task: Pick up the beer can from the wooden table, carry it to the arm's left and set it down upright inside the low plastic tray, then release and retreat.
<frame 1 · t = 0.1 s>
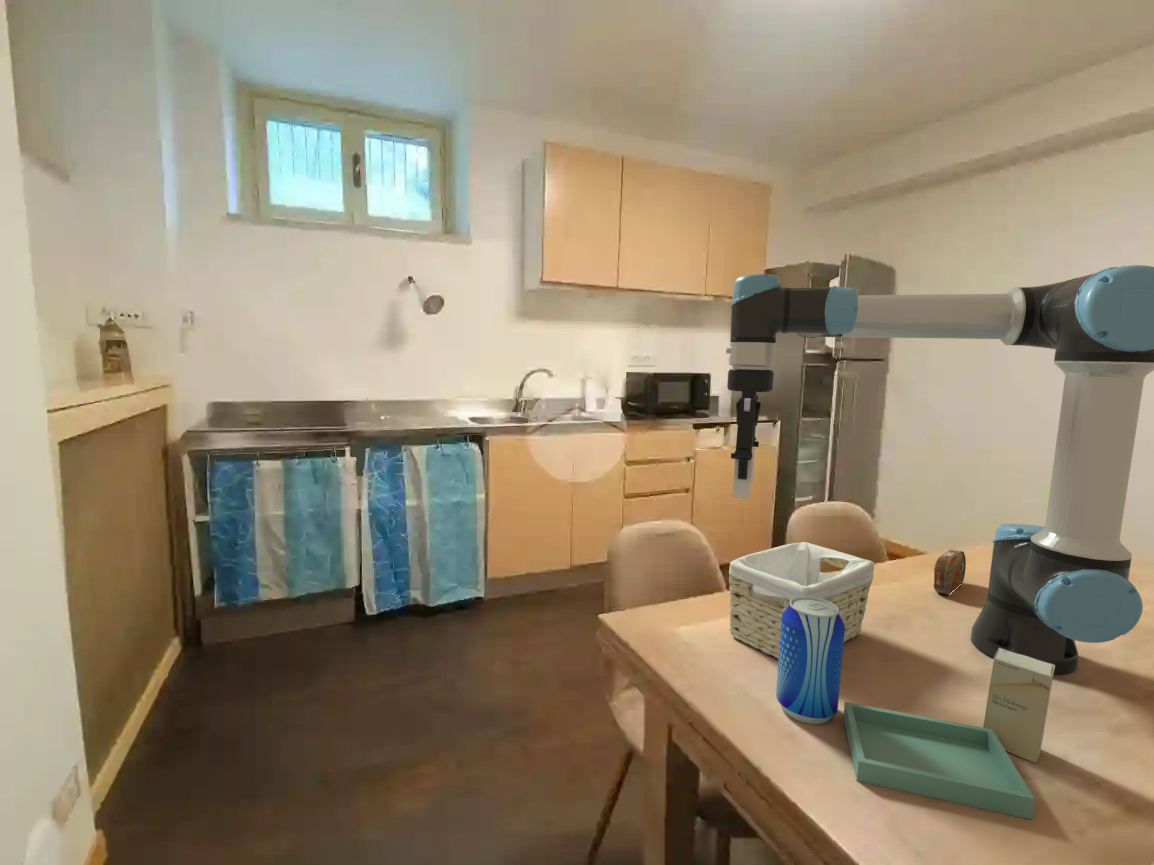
hand: (743, 489, 102), 28 cm above the table, fingers open, 13 cm apart
skincare box: (1011, 746, 78), on the table
tray: (926, 763, 74), on the table
beer can: (805, 710, 85), on the table
tin: (947, 590, 132), on the table
storage basket: (796, 637, 108), on the table
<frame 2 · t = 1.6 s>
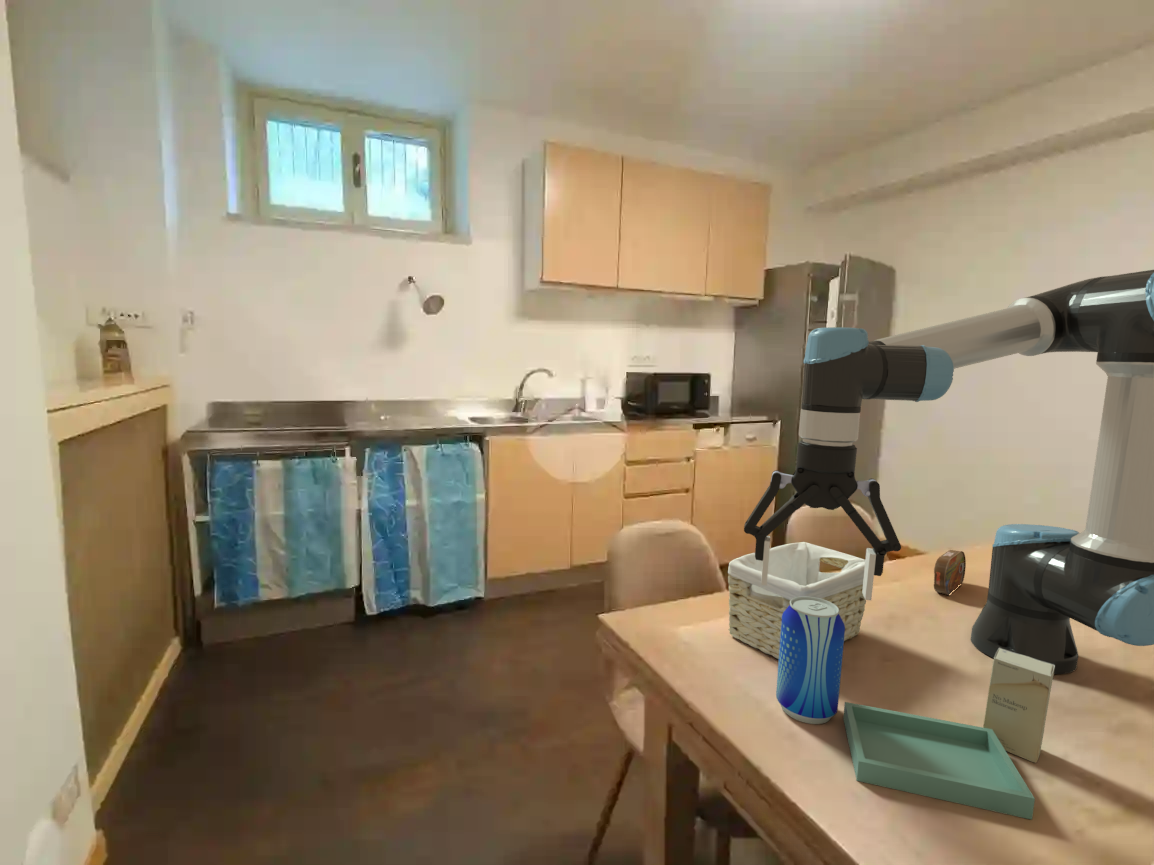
hand: (814, 589, 83), 18 cm above the table, fingers open, 13 cm apart
nothing on the table moved.
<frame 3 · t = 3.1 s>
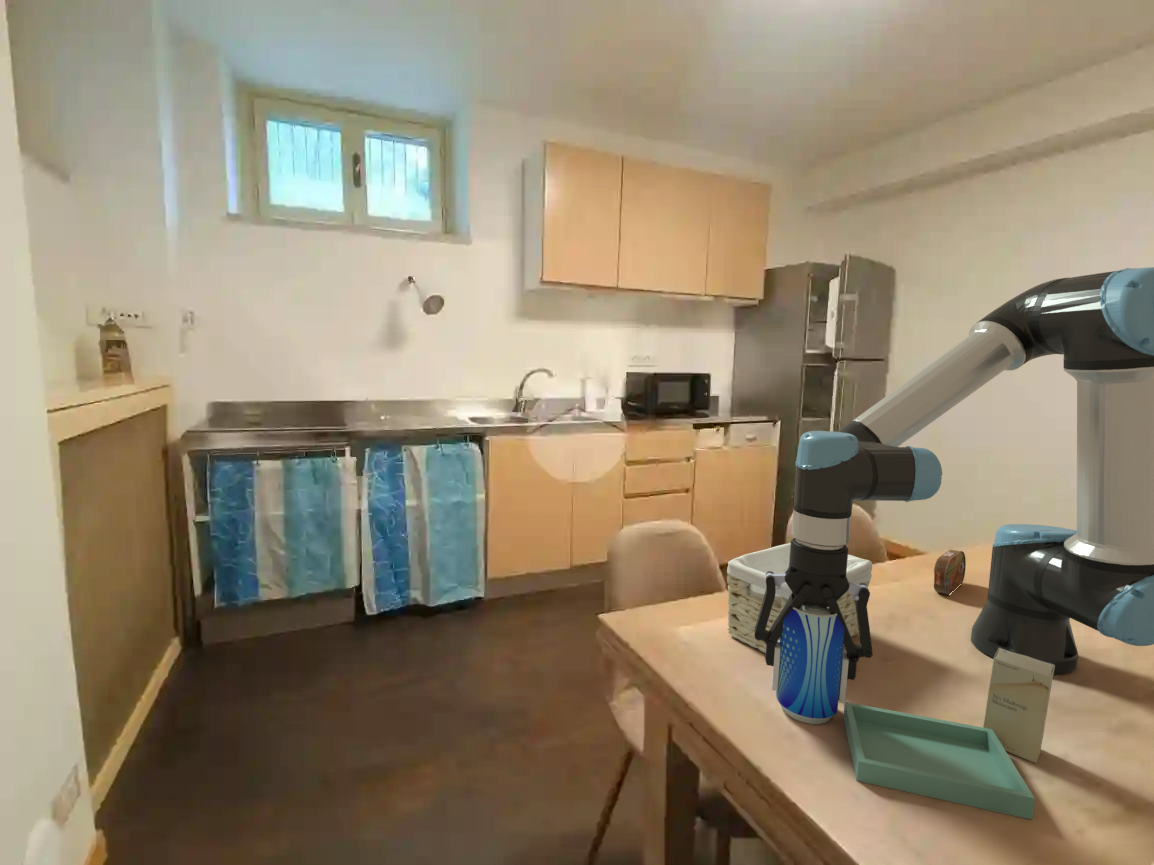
hand: (807, 691, 85), 3 cm above the table, fingers closed on beer can, 8 cm apart
beer can: (805, 710, 85), on the table, touching gripper
everything else where it was.
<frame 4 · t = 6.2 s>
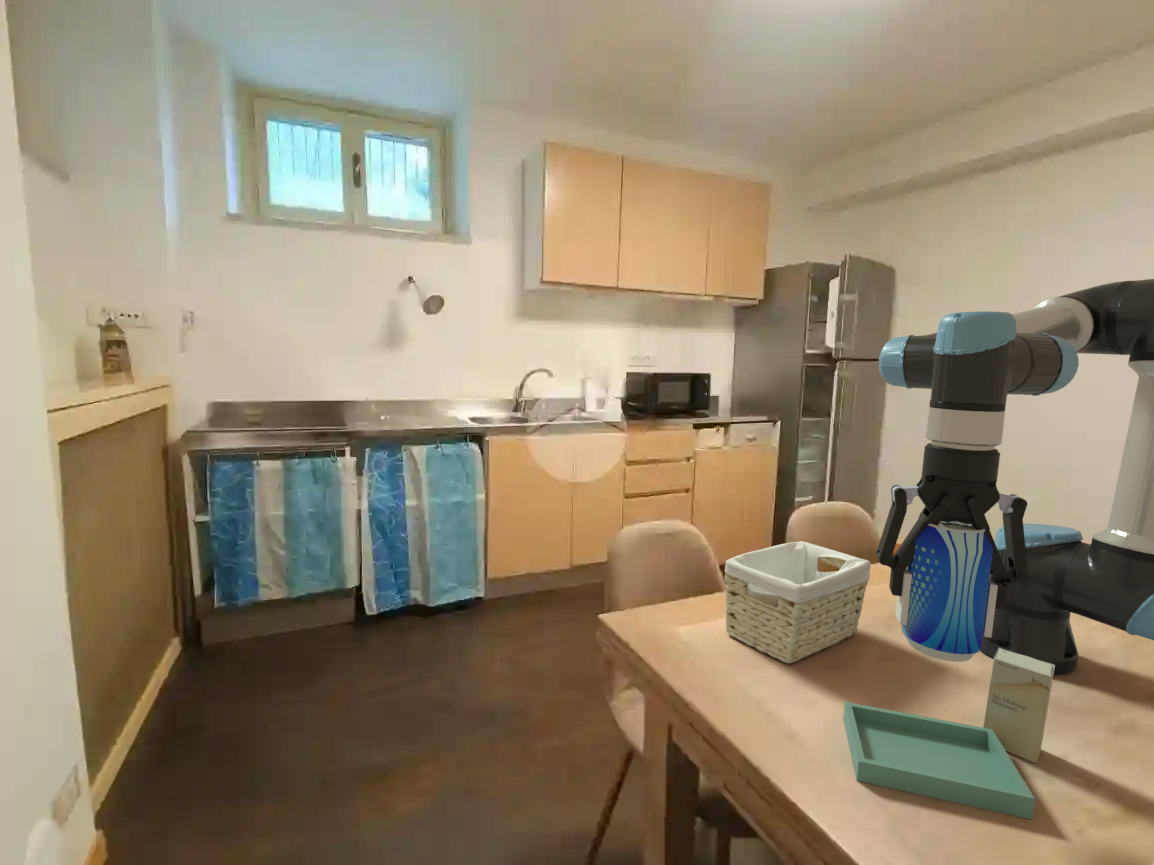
hand: (941, 625, 72), 19 cm above the table, fingers closed on beer can, 8 cm apart
beer can: (938, 649, 72), point 15 cm above the table, touching gripper
everything else where it was.
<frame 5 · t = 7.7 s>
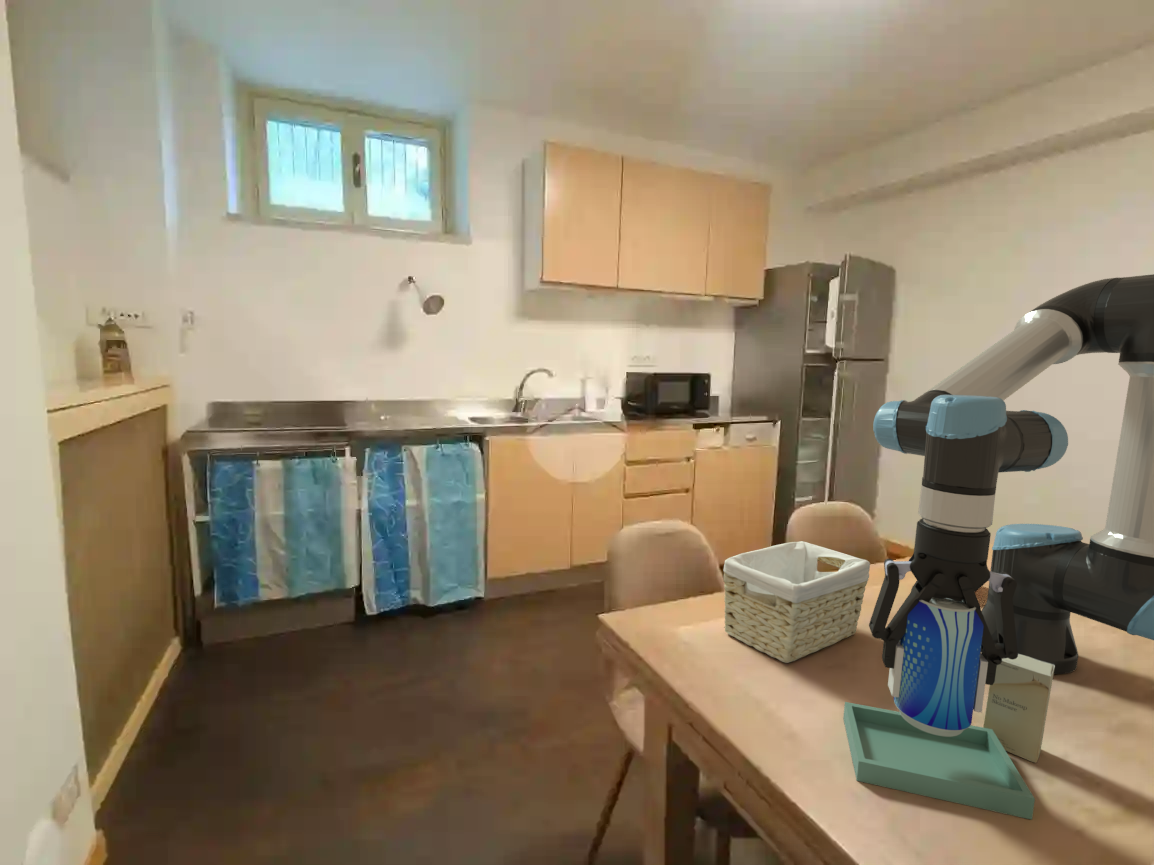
hand: (933, 698, 73), 9 cm above the table, fingers closed on beer can, 8 cm apart
beer can: (930, 720, 73), point 6 cm above the table, touching gripper
everything else where it was.
when the fingers open (5 cm above the table, at t = 9.0 s): beer can drops 1 cm, resting on tray.
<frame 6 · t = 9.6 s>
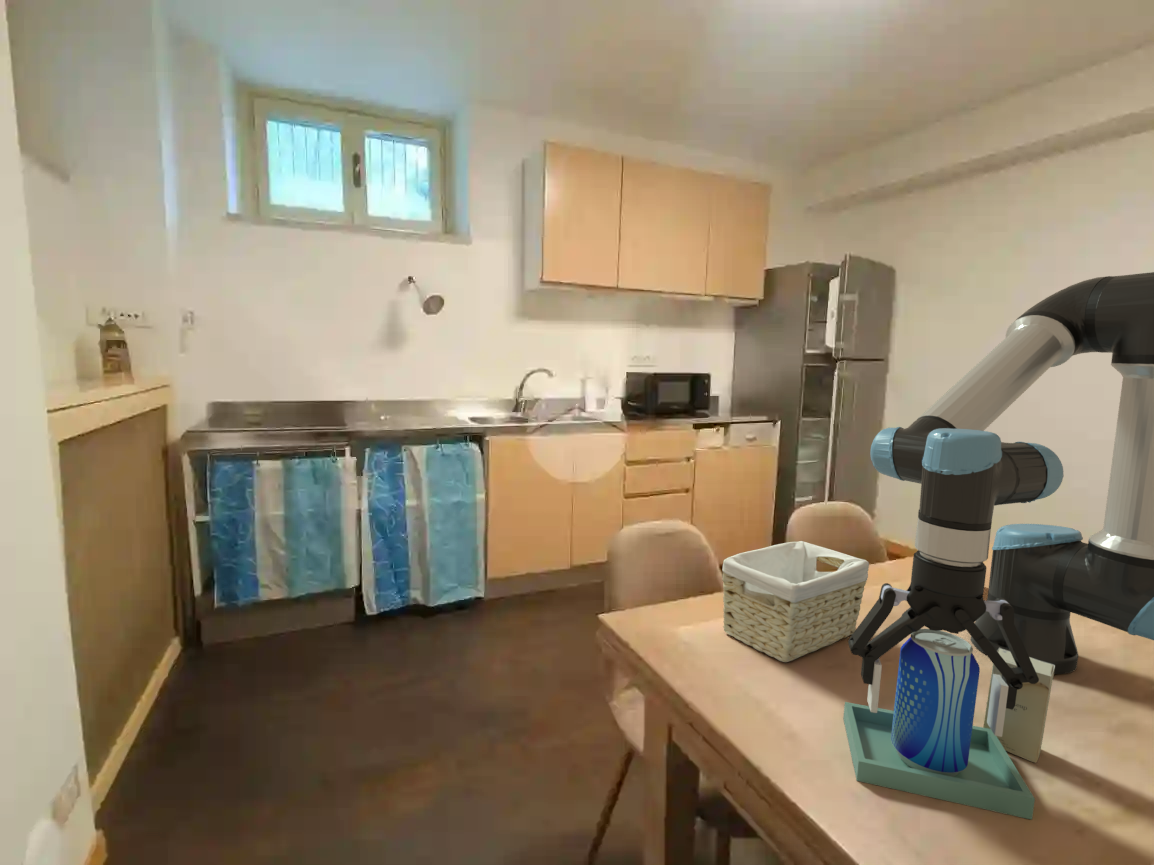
hand: (931, 718, 73), 6 cm above the table, fingers open, 13 cm apart
beer can: (926, 760, 74), resting on tray
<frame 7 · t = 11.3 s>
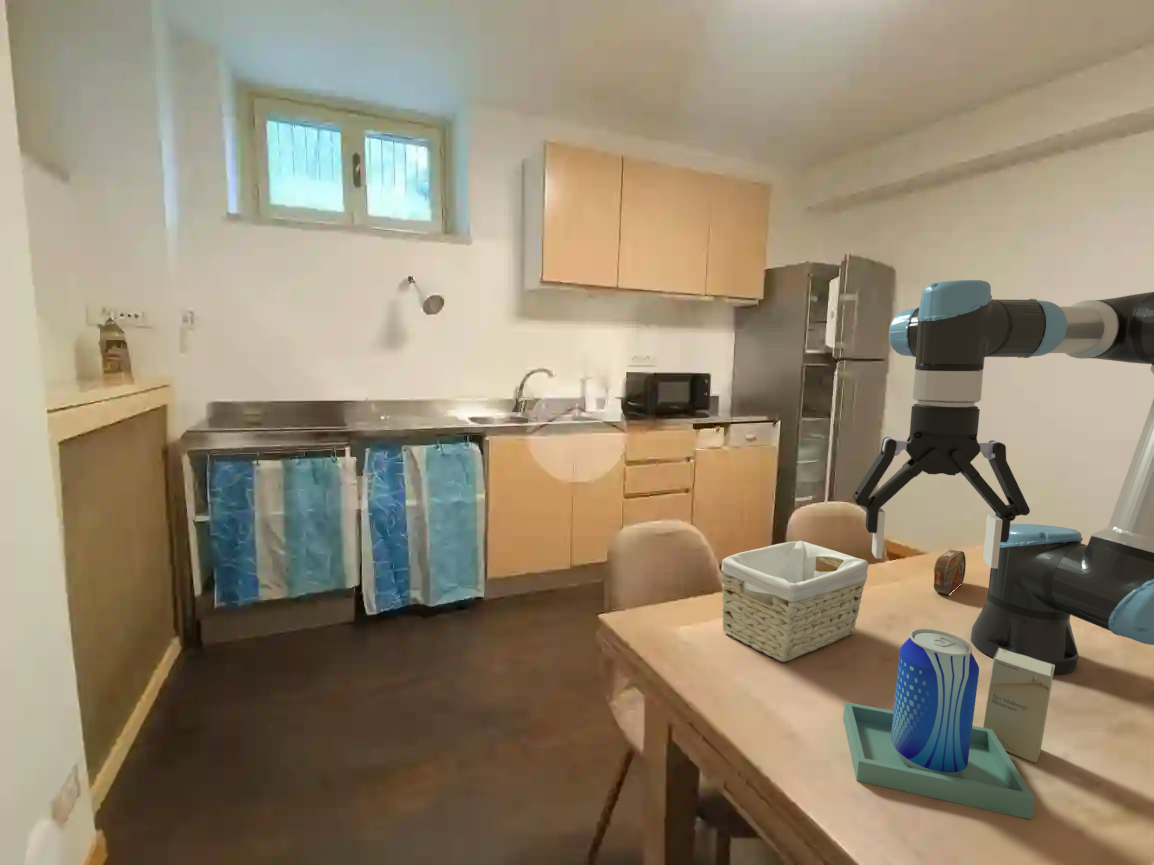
hand: (932, 560, 78), 24 cm above the table, fingers open, 13 cm apart
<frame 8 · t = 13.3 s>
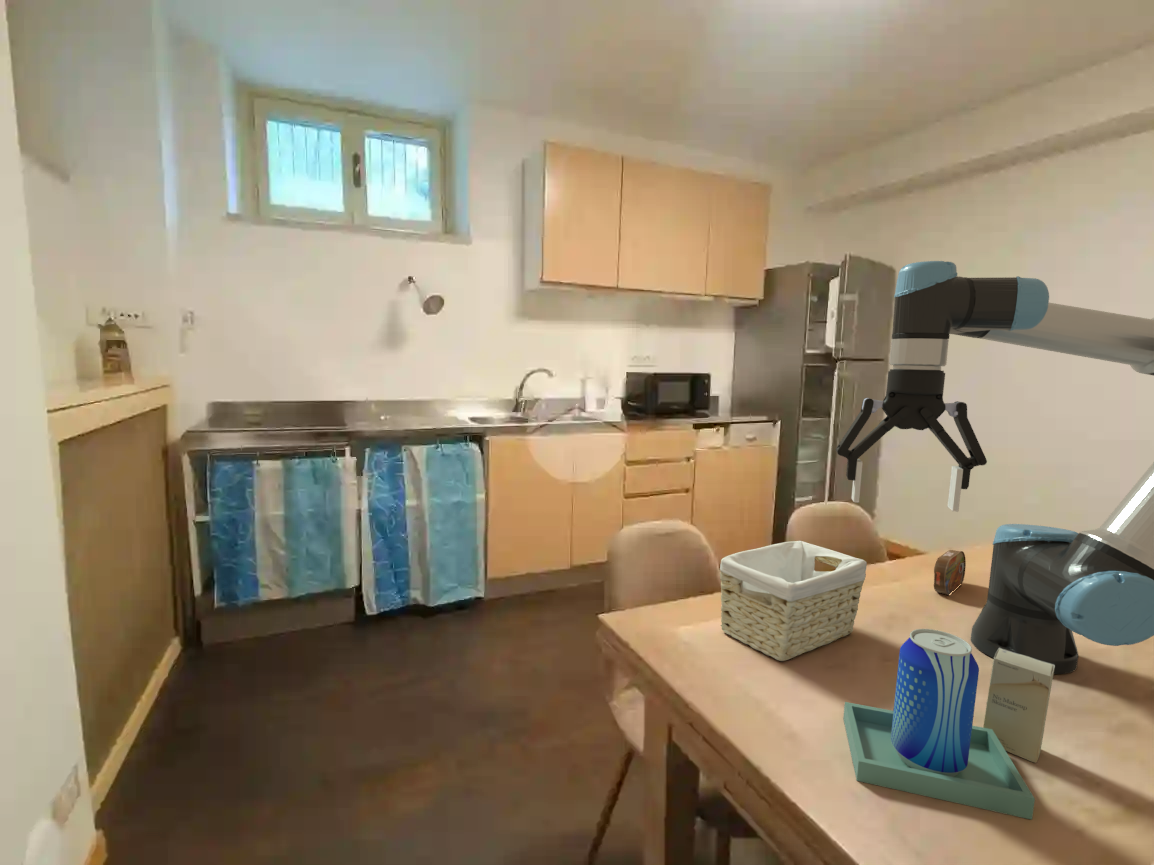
hand: (902, 505, 91), 29 cm above the table, fingers open, 13 cm apart
at the end: beer can inside the target area on the tray (0.1 cm from its centre), point 0.4 cm above the tray's base; beer can tilted 0°; the gripper is holding nothing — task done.
